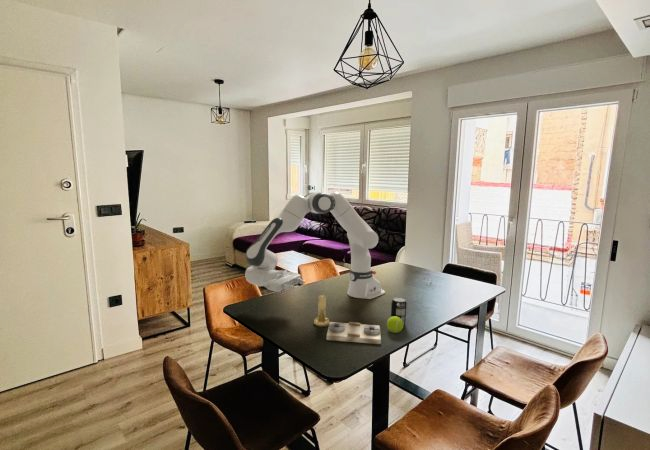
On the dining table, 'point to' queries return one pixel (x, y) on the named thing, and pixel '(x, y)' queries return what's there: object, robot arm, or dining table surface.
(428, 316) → the dining table surface
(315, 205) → the robot arm
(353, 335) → the gear board
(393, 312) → the beverage can
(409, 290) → the dining table surface
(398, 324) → the tennis ball
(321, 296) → the gold flanged post
